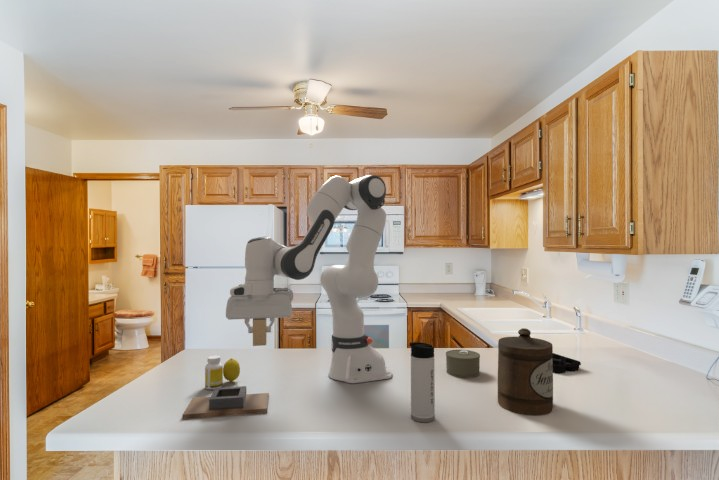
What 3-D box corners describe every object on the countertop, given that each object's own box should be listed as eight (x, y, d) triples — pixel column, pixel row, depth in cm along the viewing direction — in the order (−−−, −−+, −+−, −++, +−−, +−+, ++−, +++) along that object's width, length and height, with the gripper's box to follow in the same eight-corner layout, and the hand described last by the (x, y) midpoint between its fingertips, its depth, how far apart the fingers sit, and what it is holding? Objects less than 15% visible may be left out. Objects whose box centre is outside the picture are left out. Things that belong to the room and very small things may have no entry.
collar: (246, 396, 122) (246, 386, 122) (243, 408, 113) (243, 397, 113) (214, 398, 120) (214, 388, 120) (209, 410, 111) (209, 399, 112)
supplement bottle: (226, 385, 135) (226, 355, 135) (215, 391, 130) (215, 360, 130) (212, 383, 137) (212, 354, 137) (201, 389, 132) (201, 358, 132)
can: (443, 375, 144) (442, 356, 144) (448, 366, 155) (448, 348, 155) (478, 380, 140) (478, 359, 140) (481, 370, 151) (481, 351, 151)
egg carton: (521, 351, 178) (520, 342, 178) (590, 369, 152) (590, 359, 152) (493, 357, 168) (493, 348, 168) (563, 377, 143) (563, 366, 143)
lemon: (234, 385, 135) (234, 361, 135) (219, 384, 136) (219, 360, 136) (242, 380, 140) (242, 356, 140) (228, 379, 141) (228, 355, 141)
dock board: (268, 396, 125) (268, 392, 125) (267, 412, 113) (267, 408, 113) (192, 402, 121) (192, 397, 121) (182, 419, 109) (182, 414, 109)
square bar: (266, 342, 130) (266, 317, 131) (266, 345, 127) (266, 319, 127) (253, 342, 130) (253, 317, 130) (252, 345, 126) (252, 319, 126)
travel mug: (407, 413, 112) (407, 340, 112) (431, 412, 113) (430, 339, 113) (412, 423, 106) (412, 346, 106) (437, 422, 106) (437, 345, 107)
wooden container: (549, 420, 108) (548, 336, 108) (492, 408, 115) (491, 330, 116) (556, 401, 120) (555, 326, 120) (504, 392, 128) (503, 321, 128)
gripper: (292, 286, 133) (293, 328, 133) (227, 288, 130) (227, 331, 130) (293, 288, 127) (293, 333, 127) (224, 290, 123) (224, 336, 123)
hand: (259, 332), depth 128 cm, fingers closed on square bar, 4 cm apart
